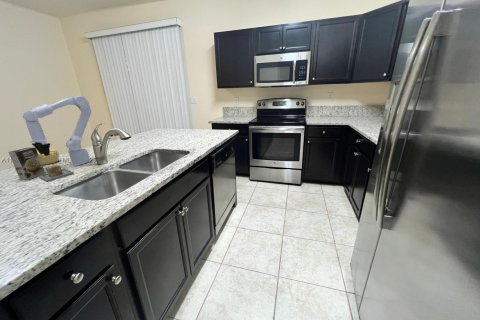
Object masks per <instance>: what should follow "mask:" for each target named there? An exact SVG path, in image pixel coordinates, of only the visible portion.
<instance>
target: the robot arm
mask: <svg viewBox="0 0 480 320" xmlns="http://www.w3.org/2000/svg"><path fill="white" fill-rule="evenodd" d="M69 105H71V106H76V107H77V108H78V109H79V111H80V114H79V116H78V117H79V118H78V119H77V122H76V125H75V127H74V130H73V132H72V135H70V138H69V139H68V140H67V141H66V143H65V146H66V148H67V149H68V150H67V152H68V155H69V156H68V157H69V158H70V161H71V163H69V165H71V166H73V167H77V166H80V165H84V164H87V163H90V162H92V160H91V158H90V157H91V156H90V154H89V151H88V150H87V149H86V148H82V145H81V144H82V137H83V135H84V134H85V129H86V128H87V125H88V122H89V120H90V117H91V115H92V109H91V106H90V101H89V100H88V99H87V98H86V97H85V96H83V95H74V96H71V97H67V98H63V99H61V100H59V101H57V102H54V103H52V104H50V105H49V104H46V103H45V104H43V103H41V104H39V106H37V107H35V108H34V107H33V108H30V109H29V110H26V111H23V114H22V118H23V120H24V121H25V122H24V123H25V124H26V128H27V131H28V133H29V135H30V138H31V140H29V143H31V146H33V148H36V150H37V151H38V152H39V153H40V154H44V155H45V156H48V155H50V150H49V149H50V148H51V143H50V142H47V140H48V139H47V138H46V136H45V132H44V130H43V128H42V127H43V126H42V125H41V123H40V122H39V119H43V118H45V117H47V116H49V115H52V114H53V113H54V111H55V110H58V109H60V108H63V107H66V106H69Z"/></svg>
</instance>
